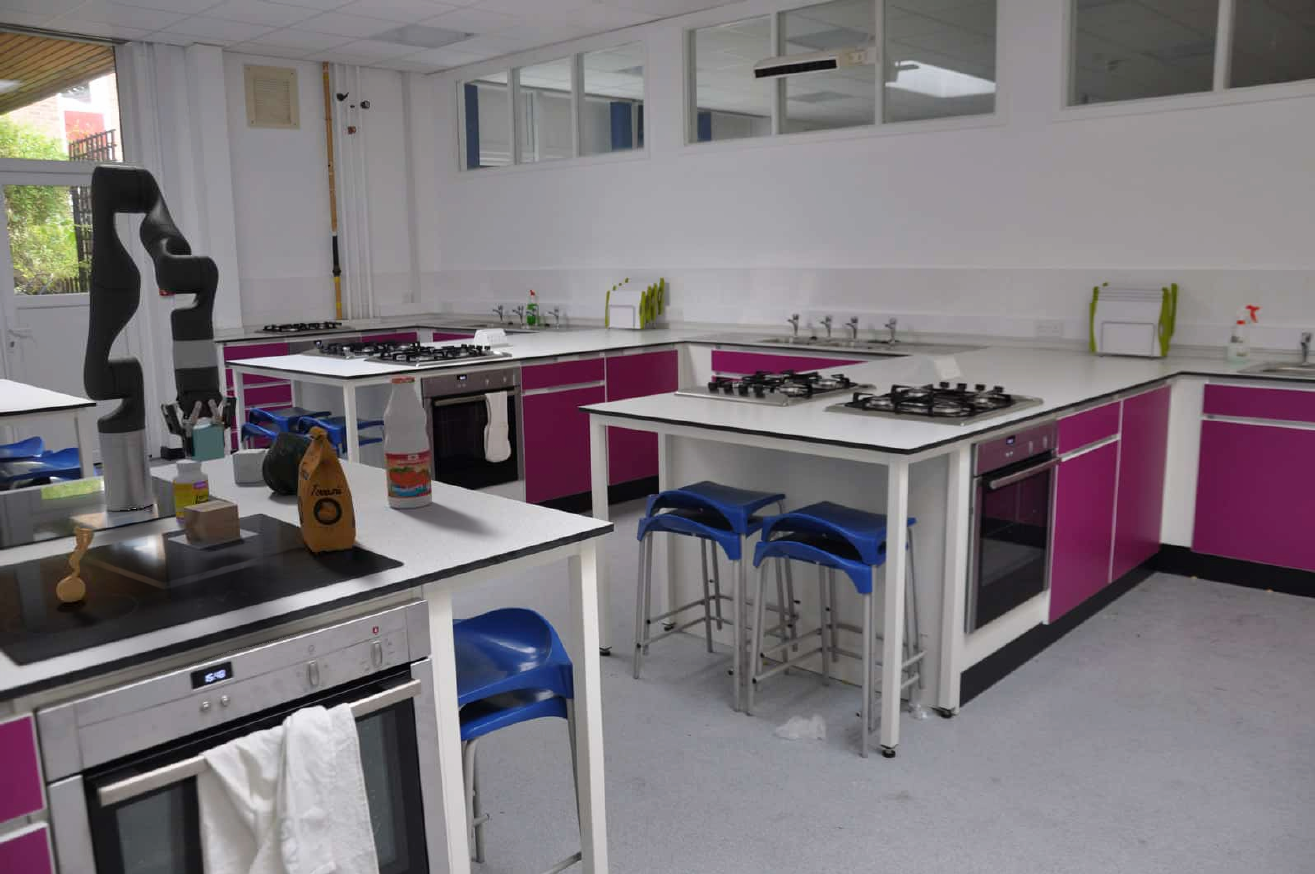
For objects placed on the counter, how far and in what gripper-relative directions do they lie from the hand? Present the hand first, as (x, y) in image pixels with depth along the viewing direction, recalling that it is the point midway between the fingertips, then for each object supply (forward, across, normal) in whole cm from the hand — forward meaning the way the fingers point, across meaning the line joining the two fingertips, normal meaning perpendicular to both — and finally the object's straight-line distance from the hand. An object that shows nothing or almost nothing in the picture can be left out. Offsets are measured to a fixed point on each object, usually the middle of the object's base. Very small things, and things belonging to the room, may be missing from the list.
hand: (204, 453), depth 191 cm
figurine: (+17, +31, +15) cm, 38 cm away
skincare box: (+17, -36, -46) cm, 61 cm away
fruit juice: (+17, -41, +8) cm, 45 cm away
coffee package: (+17, -11, +21) cm, 30 cm away
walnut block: (+16, 0, 0) cm, 16 cm away
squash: (+17, -35, -25) cm, 46 cm away
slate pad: (+17, 0, 0) cm, 17 cm away
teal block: (+1, 0, 0) cm, 1 cm away
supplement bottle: (+17, -6, -18) cm, 26 cm away
